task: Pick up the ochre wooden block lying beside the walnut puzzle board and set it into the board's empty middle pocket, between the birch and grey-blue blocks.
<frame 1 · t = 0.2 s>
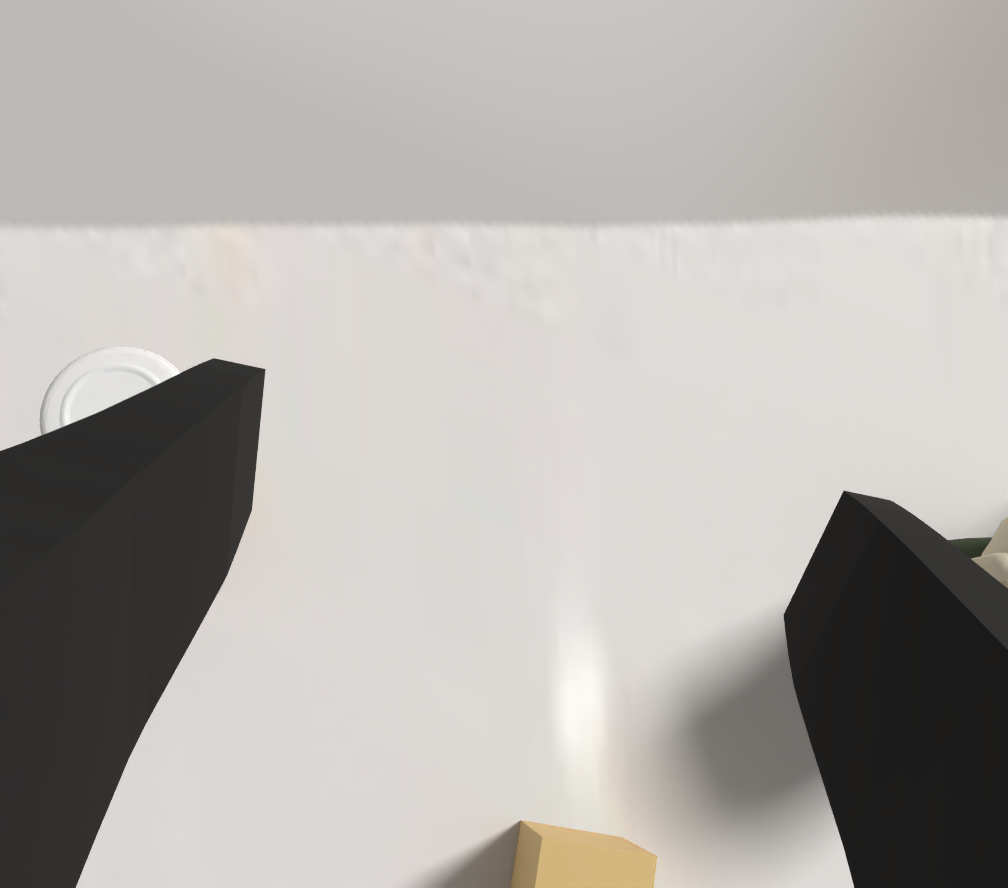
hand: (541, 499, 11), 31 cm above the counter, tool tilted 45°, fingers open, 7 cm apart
sprinkles bottle: (193, 501, 41), on the counter
character mug: (946, 607, 45), on the counter
ochre block: (563, 885, 39), on the counter
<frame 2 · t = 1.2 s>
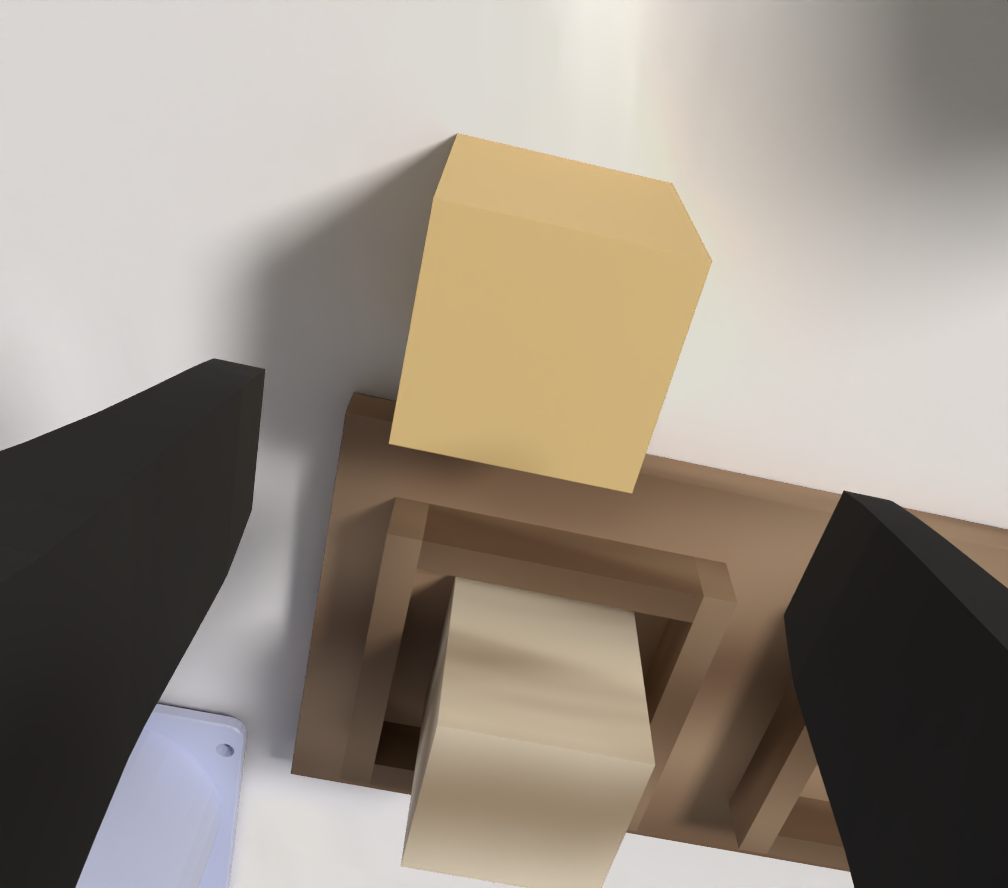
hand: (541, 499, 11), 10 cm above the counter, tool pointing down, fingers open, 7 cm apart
puzzle board: (909, 703, 26), on the counter
ochre block: (540, 261, 20), on the counter
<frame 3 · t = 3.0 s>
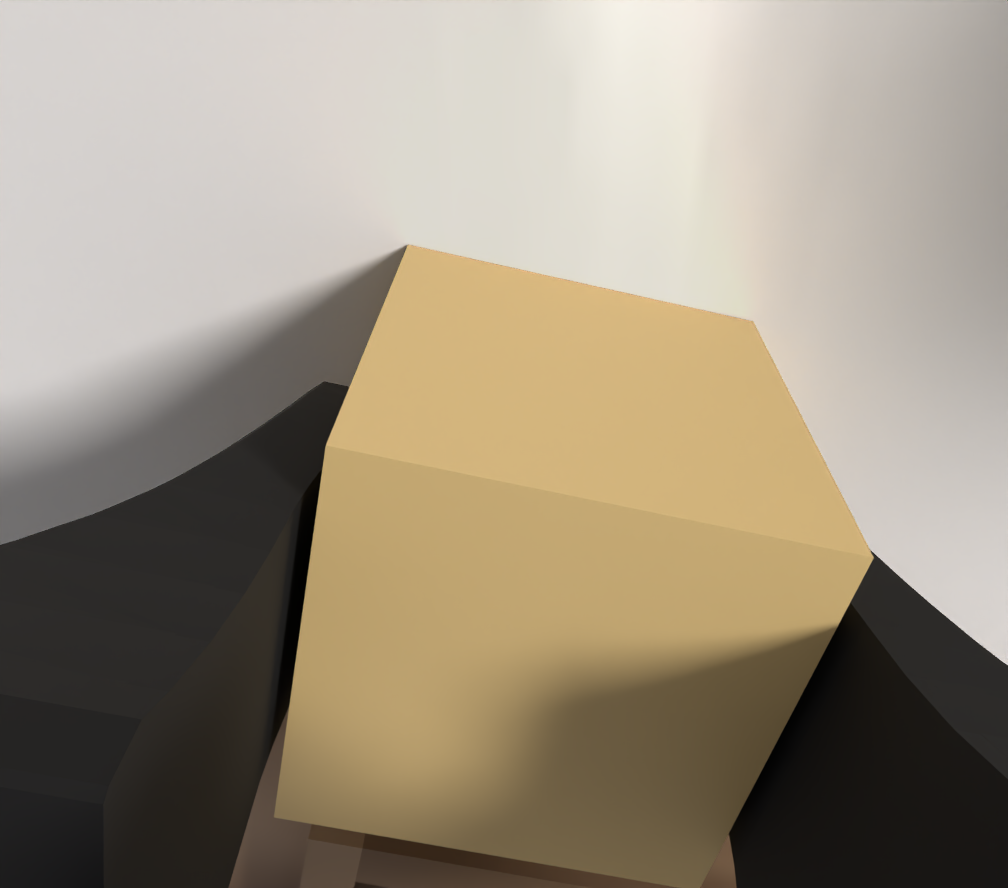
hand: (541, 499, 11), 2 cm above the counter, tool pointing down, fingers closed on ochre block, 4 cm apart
ochre block: (541, 434, 13), on the counter, touching gripper
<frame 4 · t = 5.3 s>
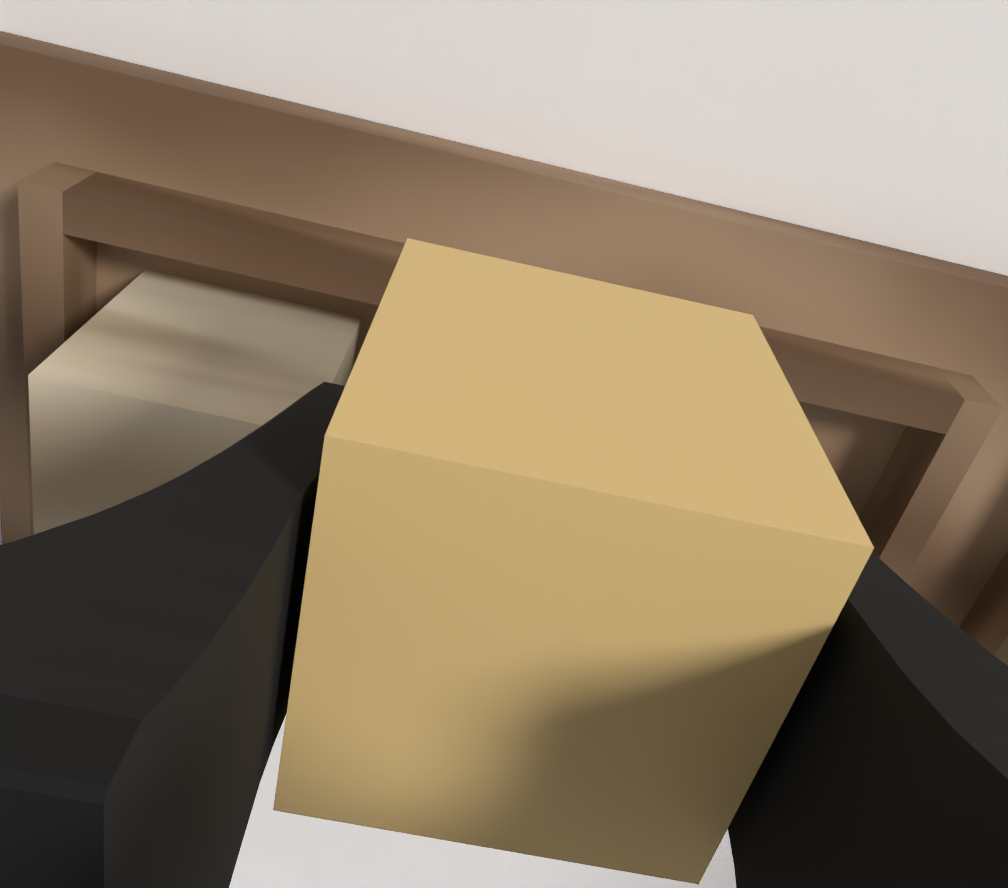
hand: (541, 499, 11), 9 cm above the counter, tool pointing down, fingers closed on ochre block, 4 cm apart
puzzle board: (716, 469, 22), on the counter
ochre block: (541, 428, 13), point 8 cm above the counter, touching gripper
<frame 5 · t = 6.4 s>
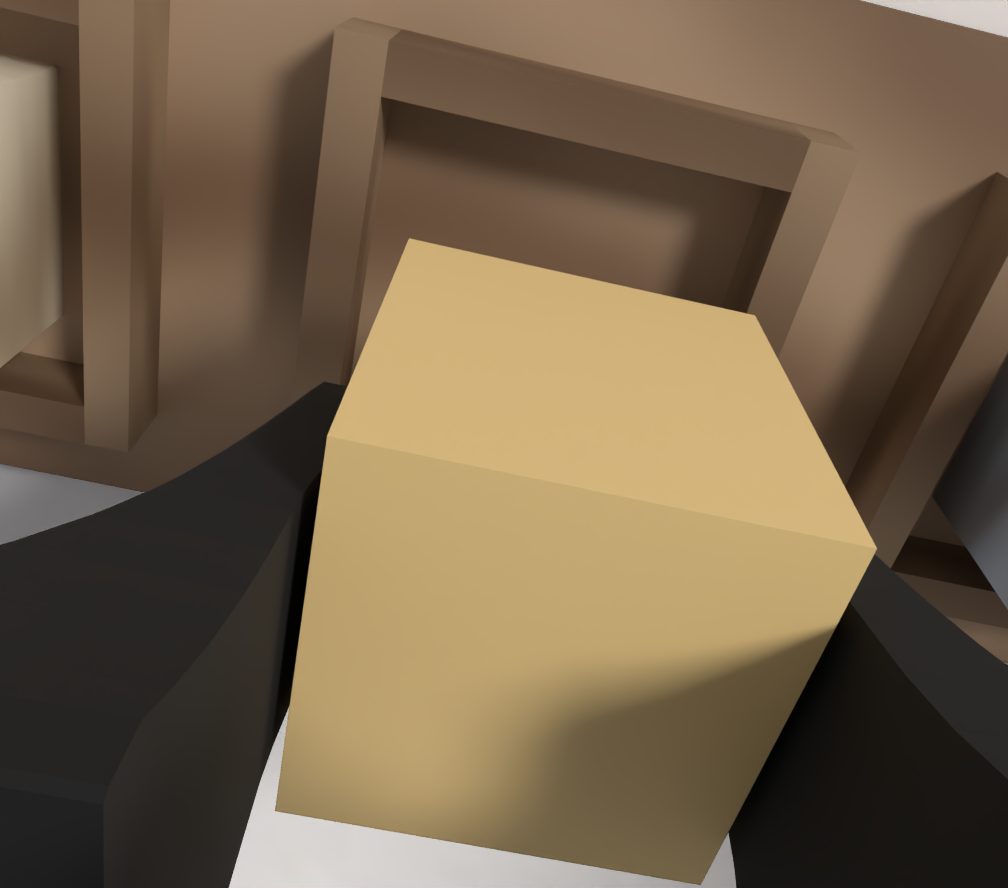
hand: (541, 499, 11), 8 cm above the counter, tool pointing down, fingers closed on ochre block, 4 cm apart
puzzle board: (540, 285, 18), on the counter
ochre block: (542, 429, 13), point 6 cm above the counter, touching gripper
when the fingers open (5 cm above the counter, at t = 7.5 s): ochre block drops 2 cm, resting on puzzle board.
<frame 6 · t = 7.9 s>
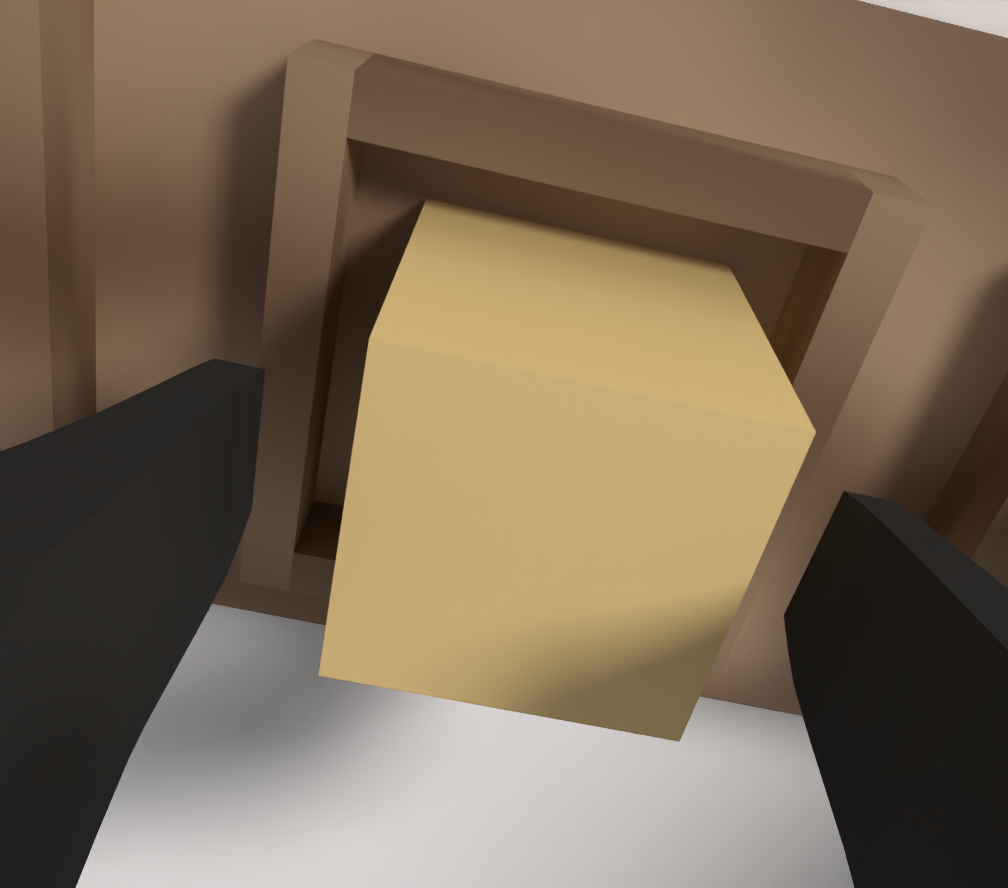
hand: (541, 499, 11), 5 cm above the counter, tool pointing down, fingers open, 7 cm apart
puzzle board: (542, 347, 15), on the counter
ochre block: (543, 369, 14), point 1 cm above the counter, touching puzzle board
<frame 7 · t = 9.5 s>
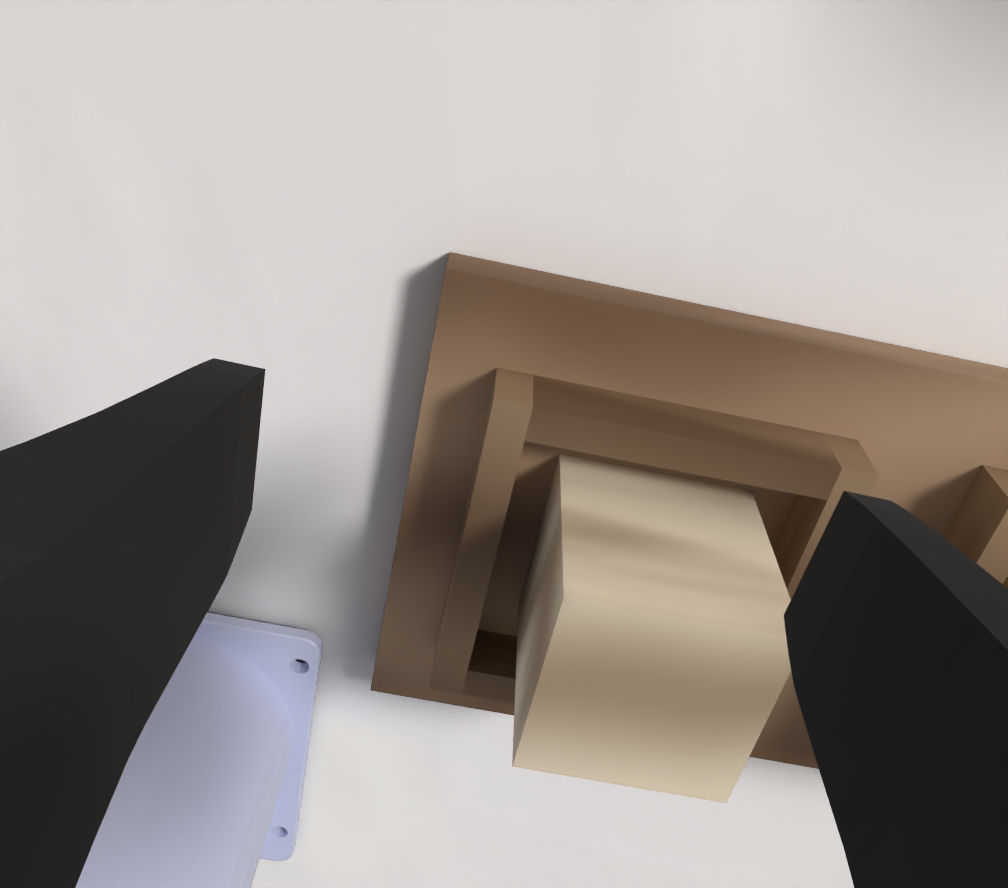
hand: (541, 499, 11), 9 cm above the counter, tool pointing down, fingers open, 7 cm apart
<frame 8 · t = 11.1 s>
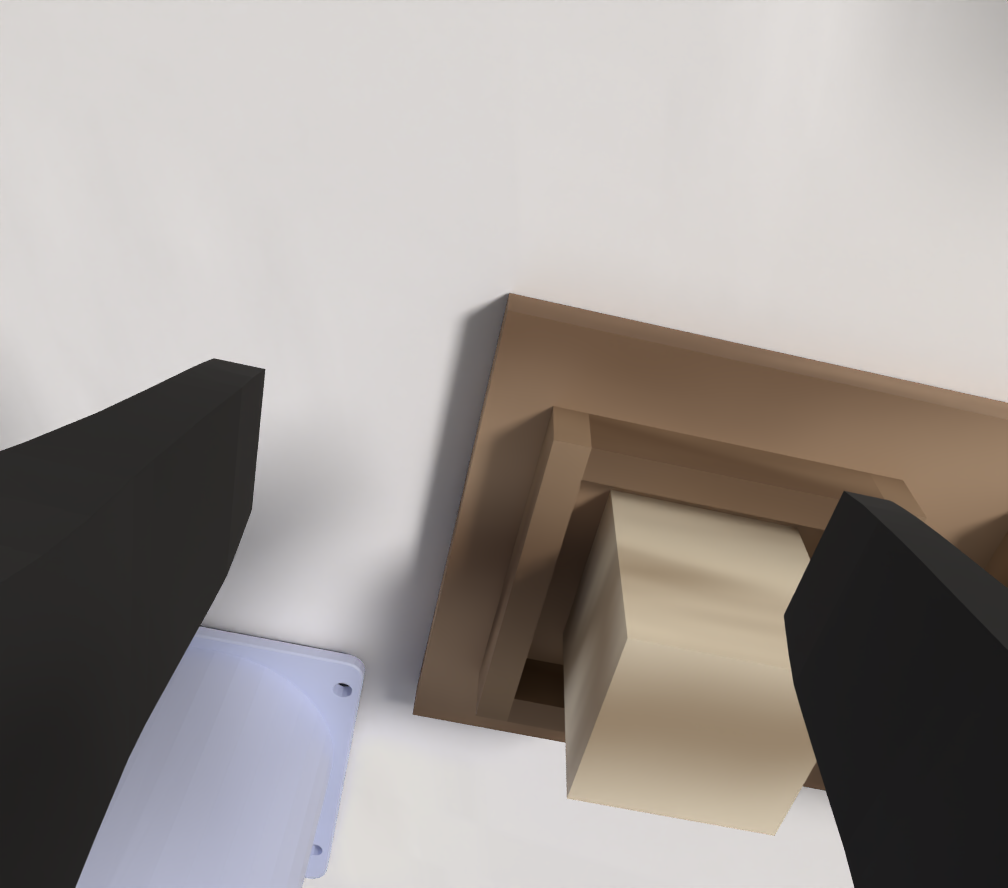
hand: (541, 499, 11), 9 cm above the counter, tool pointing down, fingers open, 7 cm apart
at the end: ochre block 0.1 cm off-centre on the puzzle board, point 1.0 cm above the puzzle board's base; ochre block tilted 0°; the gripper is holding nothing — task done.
